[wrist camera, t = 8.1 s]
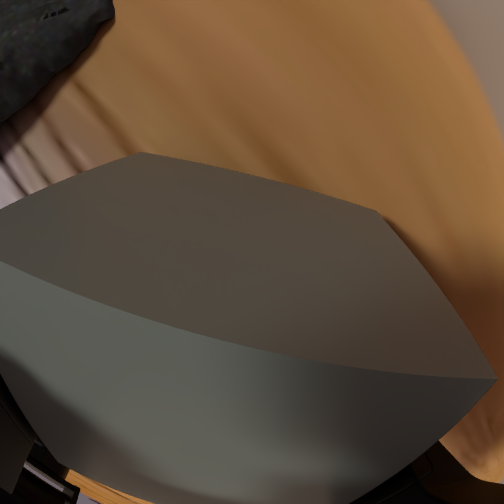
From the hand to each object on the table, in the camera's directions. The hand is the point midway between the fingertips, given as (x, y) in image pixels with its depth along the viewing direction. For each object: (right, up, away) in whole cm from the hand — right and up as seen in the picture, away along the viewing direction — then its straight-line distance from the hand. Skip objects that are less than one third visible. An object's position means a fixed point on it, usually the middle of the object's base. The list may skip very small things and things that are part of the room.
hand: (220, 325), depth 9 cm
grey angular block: (0, +1, +2) cm, 2 cm away
